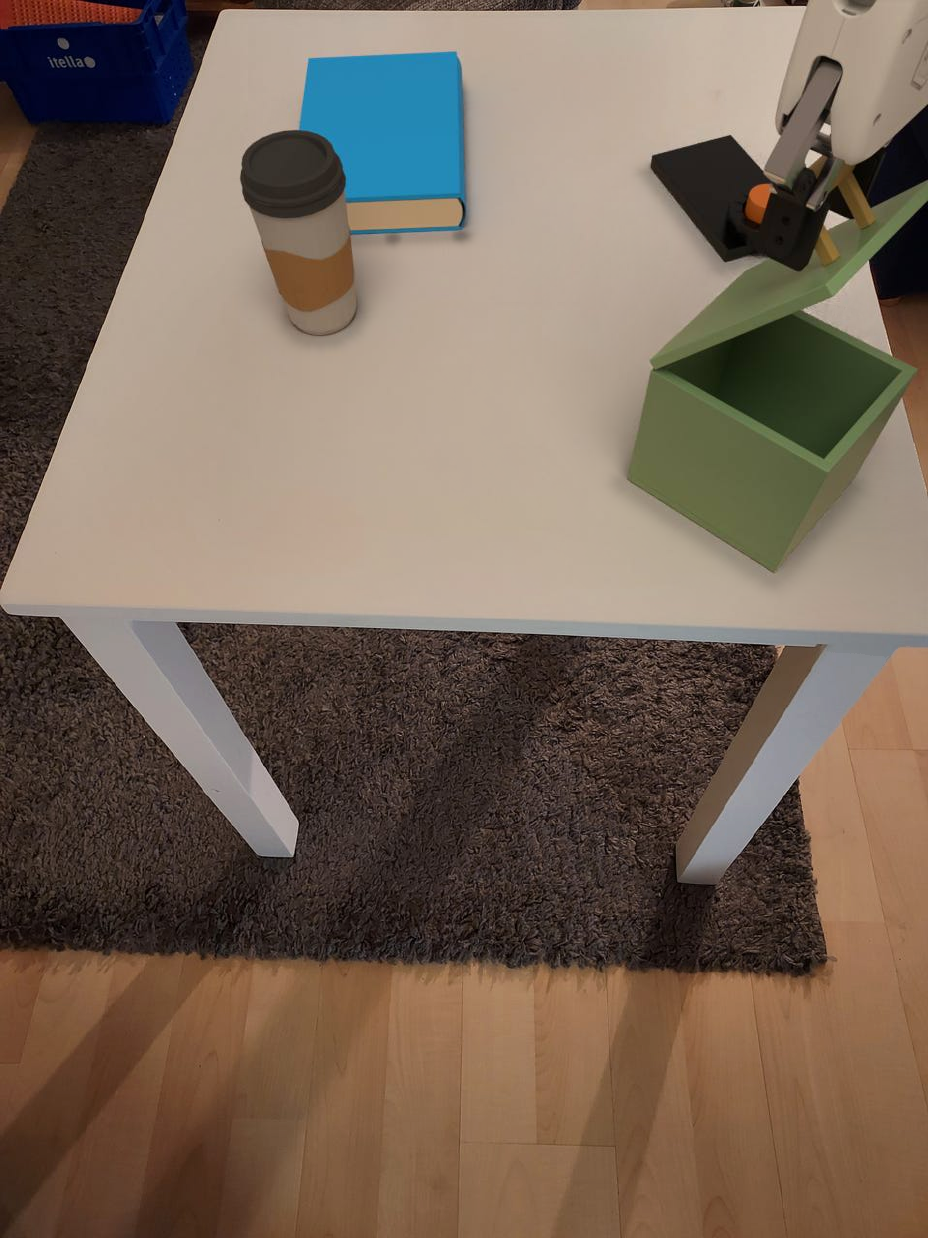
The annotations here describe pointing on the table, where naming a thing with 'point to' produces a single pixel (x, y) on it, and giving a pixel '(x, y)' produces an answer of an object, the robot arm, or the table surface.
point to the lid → (788, 291)
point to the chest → (765, 430)
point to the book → (393, 137)
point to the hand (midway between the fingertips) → (807, 230)
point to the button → (757, 202)
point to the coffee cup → (303, 226)
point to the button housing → (714, 191)
